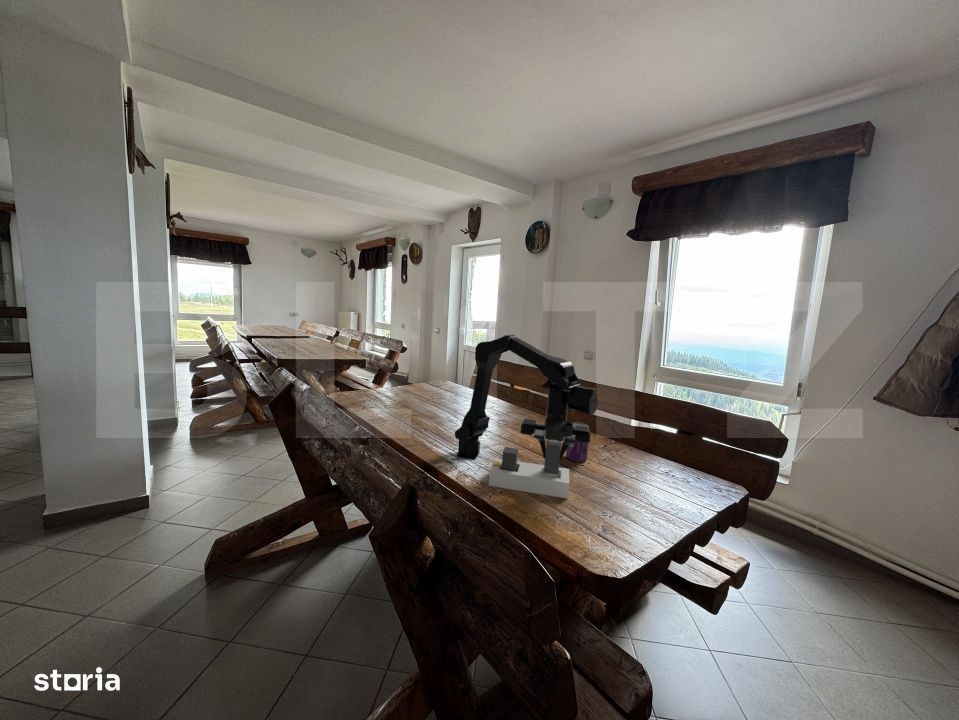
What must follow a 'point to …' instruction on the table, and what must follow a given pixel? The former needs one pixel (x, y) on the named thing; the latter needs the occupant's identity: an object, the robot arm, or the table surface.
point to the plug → (552, 456)
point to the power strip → (527, 476)
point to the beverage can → (577, 448)
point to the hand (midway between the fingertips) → (552, 459)
